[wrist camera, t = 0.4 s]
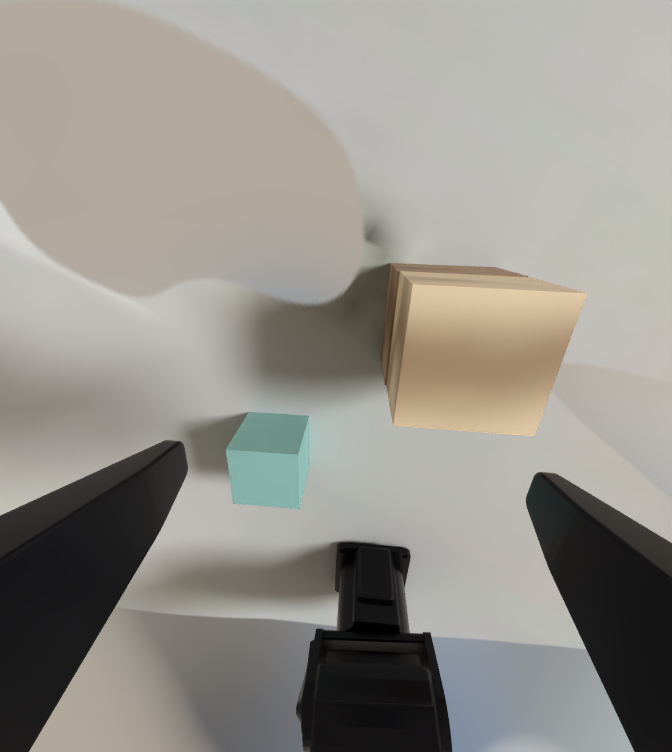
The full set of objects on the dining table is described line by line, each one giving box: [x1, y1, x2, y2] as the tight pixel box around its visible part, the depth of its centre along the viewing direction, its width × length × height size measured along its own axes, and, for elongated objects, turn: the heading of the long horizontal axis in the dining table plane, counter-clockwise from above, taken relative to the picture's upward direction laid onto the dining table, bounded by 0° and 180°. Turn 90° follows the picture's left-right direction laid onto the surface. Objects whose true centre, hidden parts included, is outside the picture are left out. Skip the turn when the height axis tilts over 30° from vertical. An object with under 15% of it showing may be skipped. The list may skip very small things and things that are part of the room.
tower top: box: [386, 271, 587, 436], centre depth 14 cm, size 6×6×4 cm
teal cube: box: [226, 412, 309, 509], centre depth 22 cm, size 4×4×4 cm
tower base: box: [381, 263, 528, 385], centre depth 18 cm, size 6×6×4 cm
